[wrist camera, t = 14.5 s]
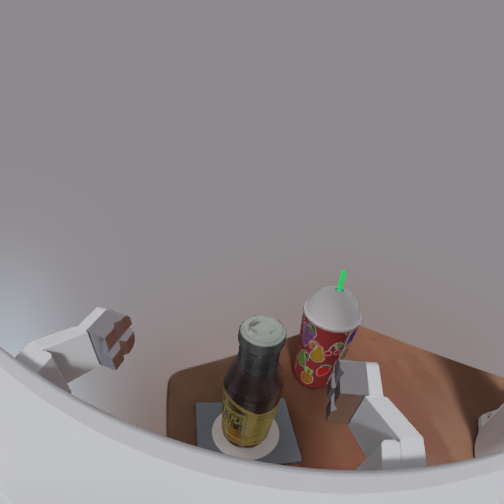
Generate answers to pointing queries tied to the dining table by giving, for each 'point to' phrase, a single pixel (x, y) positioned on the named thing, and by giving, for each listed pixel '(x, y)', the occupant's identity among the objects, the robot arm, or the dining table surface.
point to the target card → (269, 450)
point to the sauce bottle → (253, 382)
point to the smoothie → (326, 333)
